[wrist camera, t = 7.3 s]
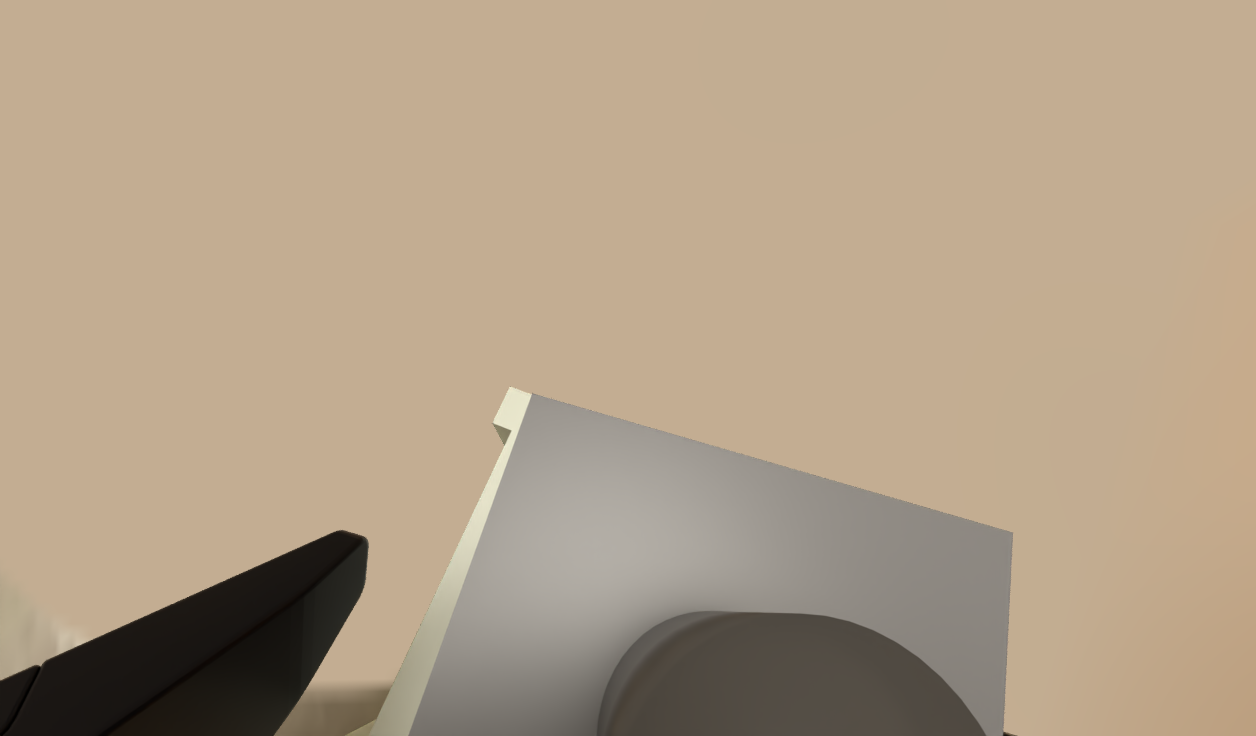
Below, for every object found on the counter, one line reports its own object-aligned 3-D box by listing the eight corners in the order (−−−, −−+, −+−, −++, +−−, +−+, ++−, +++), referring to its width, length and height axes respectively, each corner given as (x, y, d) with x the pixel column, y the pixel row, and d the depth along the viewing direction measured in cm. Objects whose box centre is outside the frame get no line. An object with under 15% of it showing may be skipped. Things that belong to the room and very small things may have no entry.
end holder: (749, 944, 15) (800, 1052, 11) (366, 772, 15) (299, 822, 12) (846, 535, 18) (909, 517, 15) (532, 413, 19) (518, 368, 15)
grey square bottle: (693, 777, 15) (1539, 2157, 2) (509, 718, 15) (-73, 1515, 2) (734, 580, 17) (1313, 468, 3) (568, 530, 17) (485, 239, 4)
